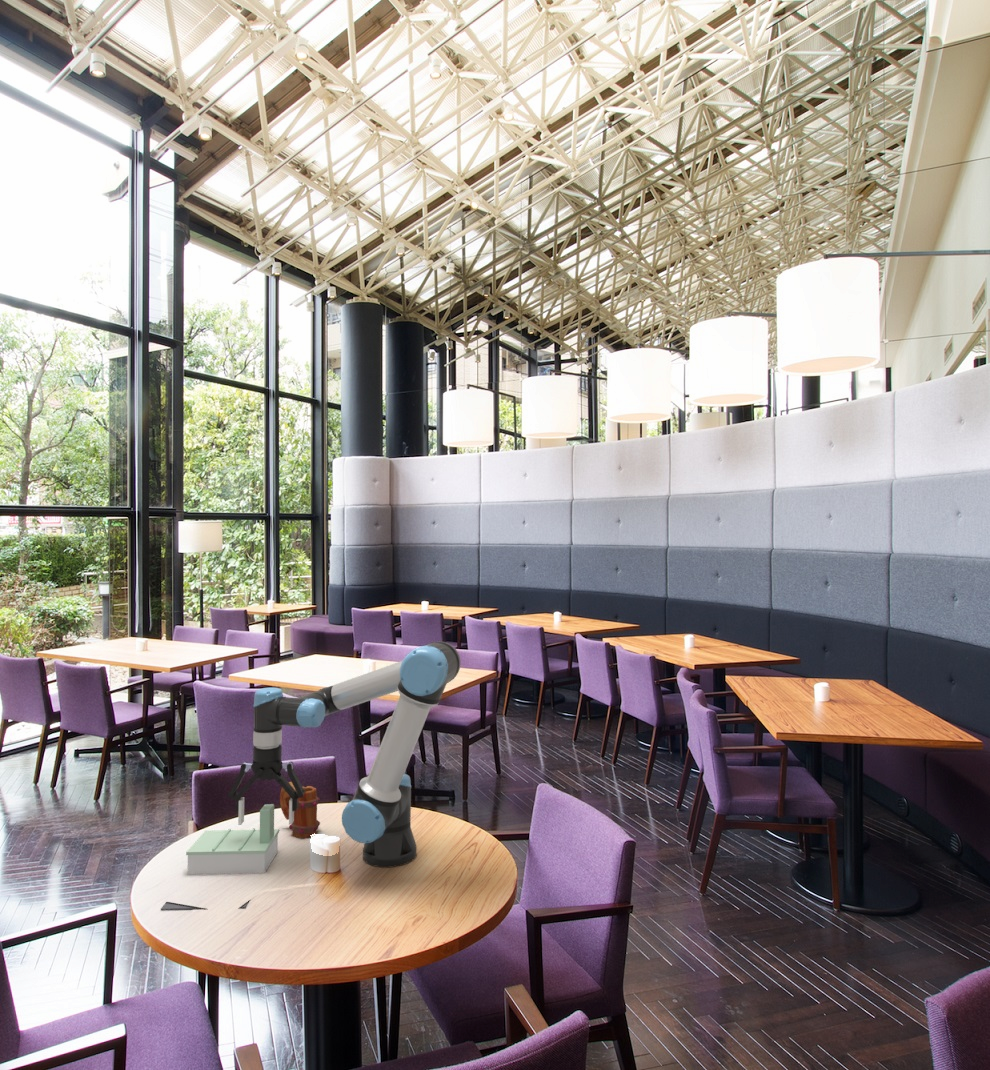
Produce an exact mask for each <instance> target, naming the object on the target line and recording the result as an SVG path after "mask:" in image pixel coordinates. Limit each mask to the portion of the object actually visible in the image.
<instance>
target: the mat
mask: <svg viewBox="0 0 990 1070" xmlns="http://www.w3.org/2000/svg"><path fill="white" fill-rule="evenodd" d="M250 901H251V899H249V900H247V901H246V902H245V903H244V904H242V905H241V906H239V907H238V908H237V909H246V908H247V907H248V905H249V903H250ZM193 910H194V911H197V910H198V911H200V910H207V908H206V907H200V906H194V905H188V904H182V903H176V902H171V901H165V903H164V904H163V905H162V906H161V907H160V911H193Z"/></svg>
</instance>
